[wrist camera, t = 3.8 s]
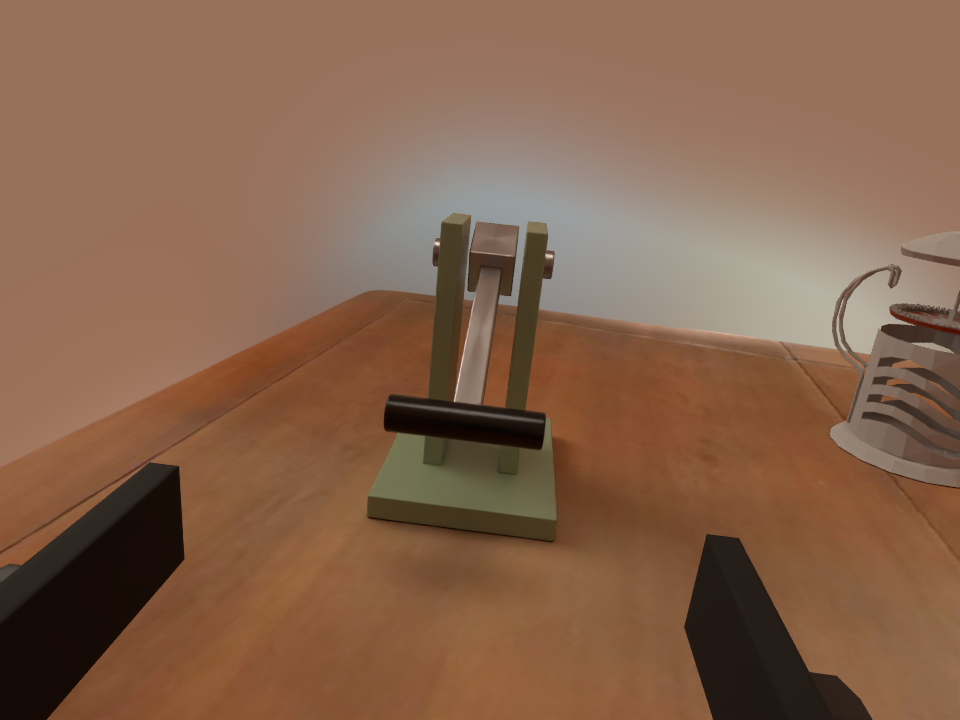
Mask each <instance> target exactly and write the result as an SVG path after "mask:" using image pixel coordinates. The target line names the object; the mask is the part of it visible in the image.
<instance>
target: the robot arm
mask: <svg viewBox="0 0 960 720" xmlns="http://www.w3.org/2000/svg"><path fill="white" fill-rule="evenodd" d="M183 560H184V544H183V527H182V509H181V492H180V475H179V466H173V465H165V464H157V463H150V462H149V463H148V464H147V465H146V466H144V467H143V468H142V469H141V470H140V471H138V472H137V473H136V474H135V475H133V476H132V477H131V478H130V479H128V480H127V481H126V482H125V483H123V484H122V485H121V486H120V487H118V488H117V489H116V490H115V491H113V492H112V493H111V494H110V495H109V496H107V497H106V498H105V499H104V500H102V501H101V502H100V503H99V504H97V505H96V506H95V507H94V508H92V509H91V510H90V511H89V512H87V513H86V514H85V515H84V516H82V517H81V518H80V519H79V520H78V521H76V522H75V523H74V524H73V525H71V526H70V527H69V528H68V529H66V530H65V531H64V532H63V533H61V534H60V535H59V536H58V537H56V538H55V539H54V540H53V541H51V542H50V543H49V544H48V545H47V546H45V547H44V548H43V549H42V550H40V551H39V552H38V553H37V554H35V555H34V556H33V557H32V558H30V559H29V560H28V561H27V562H25V563H24V564H23V565H15V564H8V565H6V566H4V567H2V568H0V720H47V718H48V717H49V716H50V715H51V714H52V713H53V711H54V710H55V709H56V708H57V707H58V706H59V704H60V703H61V702H62V701H63V700H64V699H65V697H66V696H67V695H68V694H69V693H70V692H71V690H72V689H73V688H74V687H75V686H76V685H77V684H78V682H79V681H80V680H81V679H82V678H83V677H84V675H85V674H86V673H87V672H88V671H89V670H90V668H91V667H92V666H93V665H94V664H95V663H96V661H97V660H98V659H99V658H100V657H101V656H102V654H103V653H104V652H105V651H106V650H107V649H108V647H109V646H110V645H111V644H112V643H113V642H114V641H115V639H116V638H117V637H118V636H119V635H120V634H121V632H122V631H123V630H124V629H125V628H126V627H127V625H128V624H129V623H130V622H131V621H132V620H133V618H134V617H135V616H136V615H137V614H138V613H139V611H140V610H141V609H142V608H143V607H144V606H145V604H146V603H147V602H148V601H149V600H150V599H151V598H152V596H153V595H154V594H155V593H156V592H157V591H158V589H159V588H160V587H161V586H162V585H163V584H164V582H165V581H166V580H167V579H168V578H169V577H170V575H171V574H172V573H173V572H174V571H175V570H176V568H177V567H178V566H179V565H180V564H181V563H182V561H183ZM684 628H685V631H686V634H687V637H688V641H689V644H690V647H691V650H692V653H693V656H694V660H695V663H696V666H697V669H698V672H699V676H700V679H701V682H702V685H703V688H704V692H705V695H706V698H707V701H708V704H709V708H710V711H711V714H712V717H713V720H872V718H871V716H870V715H869V713H868V711H867V710H866V708H865V706H864V705H863V703H862V701H861V699H860V698H859V697H858V696H857V695H856V694H855V693H854V692H853V691H852V690H851V689H849V688H848V687H847V686H846V685H845V684H844V683H843V682H842V681H841V680H840V679H839V678H838V677H837V676H833V675H826V674H819V673H812V672H809V671H808V669H807V667H806V665H805V663H804V661H803V659H802V657H801V656H800V654H799V652H798V650H797V648H796V646H795V644H794V642H793V640H792V638H791V637H790V635H789V633H788V631H787V629H786V627H785V625H784V623H783V621H782V619H781V618H780V616H779V614H778V612H777V610H776V608H775V606H774V604H773V602H772V600H771V598H770V597H769V595H768V593H767V591H766V589H765V587H764V585H763V583H762V581H761V579H760V578H759V576H758V574H757V572H756V570H755V568H754V566H753V564H752V562H751V560H750V559H749V557H748V555H747V553H746V551H745V549H744V547H743V545H742V543H741V541H740V539H739V538H733V537H725V536H718V535H710V534H707V535H706V539H705V543H704V547H703V552H702V556H701V560H700V564H699V568H698V572H697V576H696V581H695V585H694V589H693V593H692V597H691V601H690V605H689V610H688V614H687V618H686V622H685V626H684Z"/></svg>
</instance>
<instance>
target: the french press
mask: <svg viewBox="0 0 960 720" xmlns="http://www.w3.org/2000/svg"><path fill="white" fill-rule="evenodd" d="M901 252H902V254H903V255H905V256H909V257H914V258H918V259H922V260H927V261H932V262H937V263H942V264H948V265H954V266H959V267H960V231H959V232H943V233H938V234H933V235H928V236H923V237H919V238H917V239H914V240H912V241H909V242H907V243H905V244H902V245H901ZM894 269H896V270H897V271H895V270H894ZM883 270H889V271H891V274H890V278H889V283H888V285H889V287H890V288H893V287H894V286H896V285H897V283H898V280H899V278H900V275H901V272H902V271H901V269H900V267H899V266H896V265H893V264H892V265H888V266H884V267H881V268H878V269H875V270H871V271H868V272H866V273H864V274H863V275H861V276H859V277H857V278H855V279H854V280H853V281H852V282H851V283H850V285H849V286H848V287H847V288H846V289H845V290H844V291H843V293H842V294H841V296H840V297H839V299H838V301H837V303H836V307H835V312H834V317H833V322H832V324H833V325H832V333H833V337H834V341H835V346H836V347H837V348H838V350H839V351H840V353H841V354H842V356H843V357H844V358H845V359H846V360H847V361H848V362H849V363H851V364H852V365H853V366H854V367H855V368H856V369H857V370H858V371H859V372H860V378H859V381H858V384H857V388H856V391H855V394H854V398H853V401H852V405H851V408H850V411H849V415H848V418H847V421H844V422H842V423H839V424H837V425H835V426H833V427H832V428H831V431H830V436H831V438H832V439H833V440H834V441H835V442H836V444H837V445H838V446H839V447H841V448H842V449H844V450H845V451H847V452H849V453H850V454H852V455H854V456H855V457H857V458H858V459H860V460H862V461H865V462H867V463H870V464H872V465H874V466H877V467H879V468H881V469H884V470H886V471H889V472H891V473H895V474H898V475H902V476H905V477H909V478H912V479H915V480H919V481H922V482H927V483H933V484H939V485H945V486H952V487H960V390H959V389H960V311H959V312H958V311H957V309H958V306H959V303H960V291H959V294H958V297H957V300H956V303H955V306H954V309H953V310H951V309H948V310H947V311H946V310H945V308H942V309H941V310H940V307H937V308H938V309H937V308H936V309H935V307H934V306H933V307H930V306H925V305H920V304H916V305H915V304H907V303H906V304H894V305H892V306H891V307H890V313H891V315H893V316H894V317H895V318H897V319H899V320H902V321H905V322H907V323H910V324H913V325H916V326H912V325H900V324H887V325H884V326H882V327H881V330H879V329H878V333H877V336H876V339H875V342H874V346H873V349H872V352H871V355H870V359H869V362H868V365H867V363H866V362H865V361H863V360H862V359H861V358H860V357H858V356H857V355H856V354H855V353H854V352H853V351H852V350H851V348H850V347H849V345H848V344H847V342H846V341H845V335H844V331H843V316H844V312H845V308H846V304H847V300H848V299H849V297H850V296H851V294H852V292H853V291H854V289H855V288H856V287H857V286H858V285H859V284H860V283H861V282H862V281H863V280H864V279H866V278H868V277H869V276H871V275H873V274H875V273H877V272H879V271H883ZM847 292H848V293H847ZM845 295H846V296H845ZM843 298H844V301H843V304H842V307H841V311H840V314H839V331H840V336H841V341H842V343H843V345H844V346H845V348H846V349H847V350H848V352H849V353H850V354H851V355H852V356H853V357H854V358H855V359H857V360H858V361H859V362H860V363H862V364H863V365H864V367H865V369H866V372H865V375H864V372H863V370H862V369H861V367H860V366H858V365H857V364H856V363H855V362H854V361H852V360H851V359H850V358H849V357H847V356H846V354H845V353H844V351H843V350H842V348H841V346H840V345H839V342H838V337H837V332H836V319H837V315H838V312H839V308H840V305H841V302H842V300H843ZM906 305H907V306H906ZM909 305H911V306H909ZM918 306H919V307H918ZM922 306H923V307H922ZM927 307H929V308H927ZM933 308H934V309H933ZM943 309H944V310H943ZM916 342H918V343H920V342H922V343H925V342H927V343H935V344H937V345H940V346H943V347H945V348H948V349H950V350H951V351H953V352H954V353H955V354H952V353H947V352H942V351H937V350H933V349H929V348H925V347H921V346H918V345H914V344H911V343H916ZM904 360H911V361H913V362H915V363H917V364H919V365H921V366H923V367H925V368H927V369H925V368H895V367H892V364H893V363H897V362H901V361H904ZM928 369H929V370H928ZM930 370H931V371H930ZM893 378H898V379H903V380H905V381H907V382H909V383H911V384H896V385H891V386H887V385H886V383H887V380H889V379H893ZM927 379H928V380H930V381H933V382H935V383H937V384H939V385H940V386H942V387H943V388H944V389H945V390H946V391H948V392H949V393H950V394H951V395H952V396H954V397H955V398H954V397H952V396H951V395H949V394H948V393H946V392H944V391H943V390H941V389H940V388H938V387H937V386H935V385H934V384H932V383H931V382H930V381H928V380H927ZM955 386H956V387H955ZM958 388H959V389H958ZM911 393H917V394H919V395H922V396H924V397H926V398H929V399H931V400H933V401H934V402H935V403H937V404H938V405H939V406H940V407H941V408H943V409H944V410H945V411H946V412H947V413H948V414H949V415H950V416H952V417H953V418H954V419H953V418H950V417H947V416H946V415H944V414H943V413H941V412H939V411H938V410H936V409H935V408H933V407H932V406H930V405H929V404H928V403H926V402H925V401H923V400H922V399H920V398H919V397H917V396H915V395H913V394H911ZM884 395H886V396H891V397H895V398H898V399H900V400H889V401H885V402H881V398H882V396H884Z"/></svg>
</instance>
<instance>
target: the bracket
mask: <svg viewBox="0 0 960 720" xmlns="http://www.w3.org/2000/svg"><path fill="white" fill-rule="evenodd" d="M470 224H471V215H465V214H456V213H453V214H451V215H450V216H449V217H448V218H446V219H445V220H444V221H443V222H442V223H441V235H440V238H436V240H435V243H434V248H433V265H434V266H438V273H437V274H438V275H437V286H436V299H435V312H434V324H433V337H432V350H431V363H430V375H429V388H428V398H429V399H437V400H445V401H454V396H455V386H456V375H457V364H458V353H459V343H460V332H461V321H462V310H463V299H464V287H465V278H466V277H465V276H466V267H467V256H468V245H469V234H470ZM547 240H548V232H547V226H546V224H545V223H538V222H528V224H527V232H526V240H525V249H524V257H523V265H522V274H521V282H520V290H519V299H518V307H517V315H516V323H515V332H514V340H513V348H512V357H511V365H510V373H509V382H508V390H507V398H506V407H505V408H511V409H519V410H525V409H526V401H527V393H528V386H529V378H530V370H531V363H532V355H533V348H534V340H535V332H536V325H537V317H538V309H539V302H540V294H541V286H542V279H543V278H545V279H551V277H552V272H553V271H552V270H553V265H554V251H548V250H546V248H547ZM367 517H372V518H380V519H387V520H395V521H402V522H410V523H418V524H425V525H433V526H441V527H448V528H456V529H464V530H471V531H479V532H486V533H494V534H502V535H509V536H517V537H525V538H532V539H540V540H548V541H554V537H555V531H556V525H557V511H556V495H555V479H554V463H553V447H552V432H551V419H550V418H546V425H545V435H544V442H543V447H542V449H541V450H531V449H523V448H515V447H507V446H499V445H491V444H483V443H475V442H467V441H459V440H451V439H443V438H435V437H427V436H419V435H411V434H403V433H398V434H397V436H396V438H395V440H394V442H393V444H392V447H391V449H390V451H389V453H388V455H387V457H386V459H385V461H384V463H383V465H382V467H381V470H380V472H379V474H378V476H377V478H376V480H375V482H374V484H373V486H372V488H371V490H370V492H369V495H368V502H367Z"/></svg>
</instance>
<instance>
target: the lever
mask: <svg viewBox="0 0 960 720" xmlns="http://www.w3.org/2000/svg"><path fill="white" fill-rule="evenodd" d="M518 234H519V226H512V225H503V224H494V223H485V222H476V226H475V230H474V235H473V239H472V244H471V248H470V254H469V273H468V291H469V292H475V295H474V300H473V305H472V310H471V315H470V320H469V325H468V330H467V335H466V340H465V345H464V350H463V355H462V360H461V366H460V371H459V376H458V381H457V386H456V391H455V396H454V401H445V400H437V399H429V398H421V397H412V396H404V395H396V394H391V395H389V397H388V399H387V402H386V406H385V412H384V429H385V431H387V432H395V433H403V434H411V435H419V436H427V437H435V438H443V439H451V440H459V441H467V442H475V443H483V444H491V445H499V446H507V447H515V448H523V449H531V450H541V449H542V447H543V442H544V435H545V425H546V415H545V413H543V412H535V411H527V410H519V409H511V408H502V407H494V406H486V405H483V400H484V394H485V387H486V380H487V374H488V367H489V361H490V354H491V347H492V341H493V334H494V327H495V321H496V314H497V307H498V301H499V295H504V296H511V292H512V283H513V276H514V269H515V260H516V251H517V242H518Z"/></svg>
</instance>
